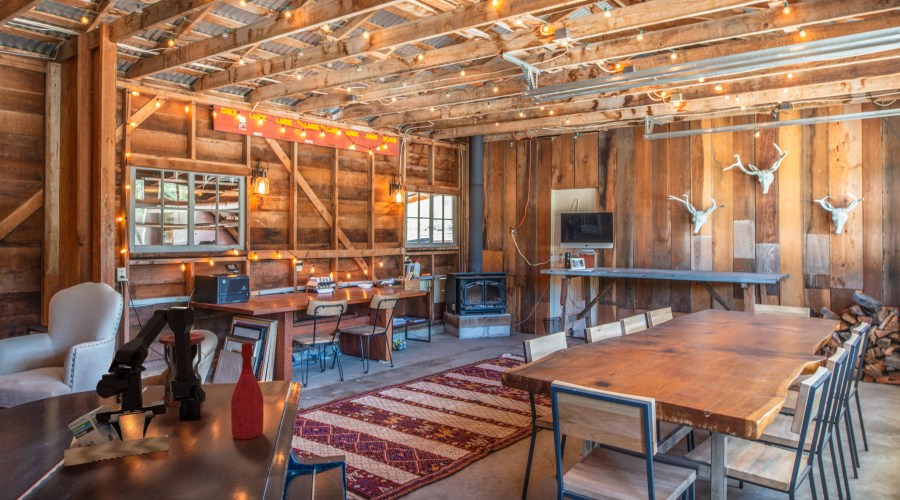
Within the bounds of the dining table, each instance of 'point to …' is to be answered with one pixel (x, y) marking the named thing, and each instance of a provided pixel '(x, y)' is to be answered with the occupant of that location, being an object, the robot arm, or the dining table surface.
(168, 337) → the hourglass
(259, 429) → the wine bottle
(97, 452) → the wall board
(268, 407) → the dining table surface
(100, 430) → the light bulb box
